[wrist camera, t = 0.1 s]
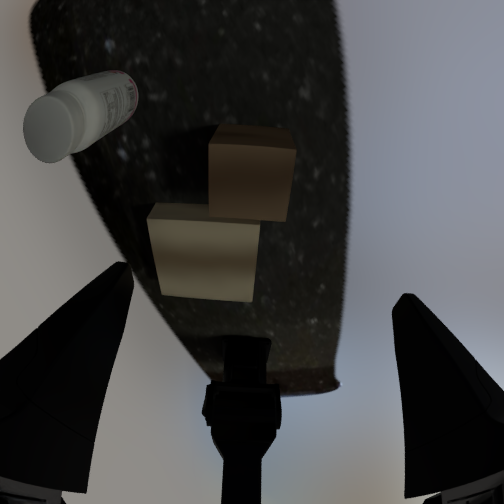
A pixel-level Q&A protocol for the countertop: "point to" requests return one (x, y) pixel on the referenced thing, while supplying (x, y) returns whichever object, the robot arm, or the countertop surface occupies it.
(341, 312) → the countertop surface
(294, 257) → the countertop surface
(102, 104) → the pill bottle
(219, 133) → the walnut cube
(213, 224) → the maple block
